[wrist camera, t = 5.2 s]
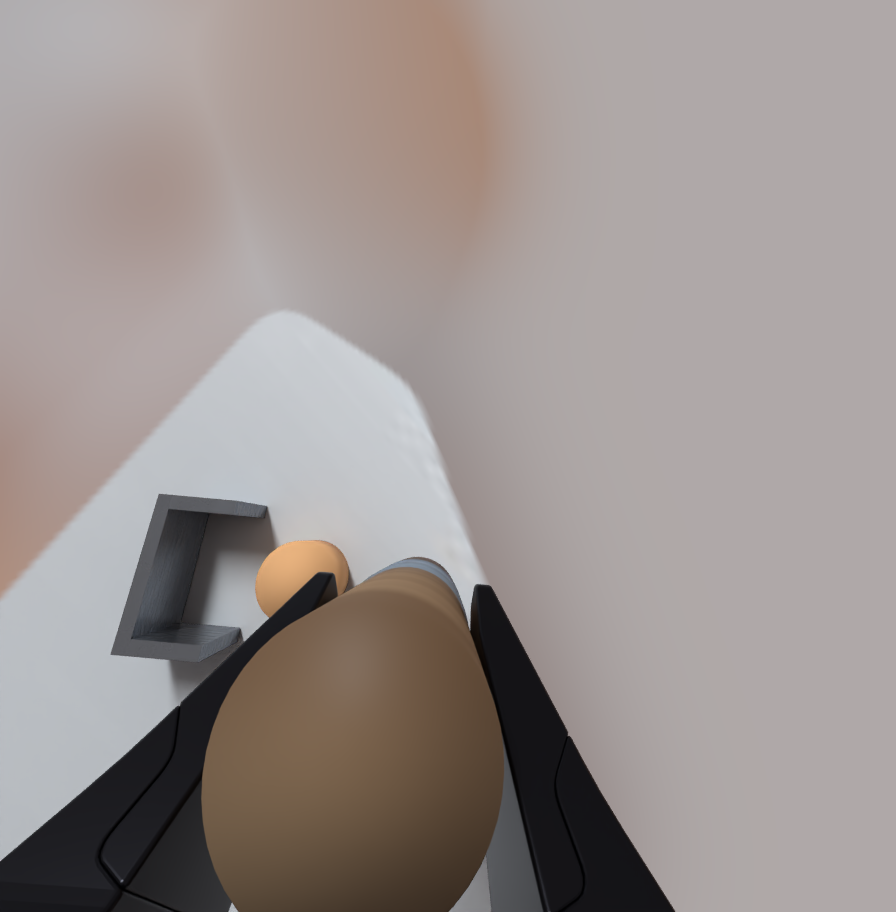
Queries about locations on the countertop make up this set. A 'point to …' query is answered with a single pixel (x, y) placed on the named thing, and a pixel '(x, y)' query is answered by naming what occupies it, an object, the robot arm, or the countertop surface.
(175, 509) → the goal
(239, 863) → the ball
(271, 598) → the tan rounded block
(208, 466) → the countertop surface
